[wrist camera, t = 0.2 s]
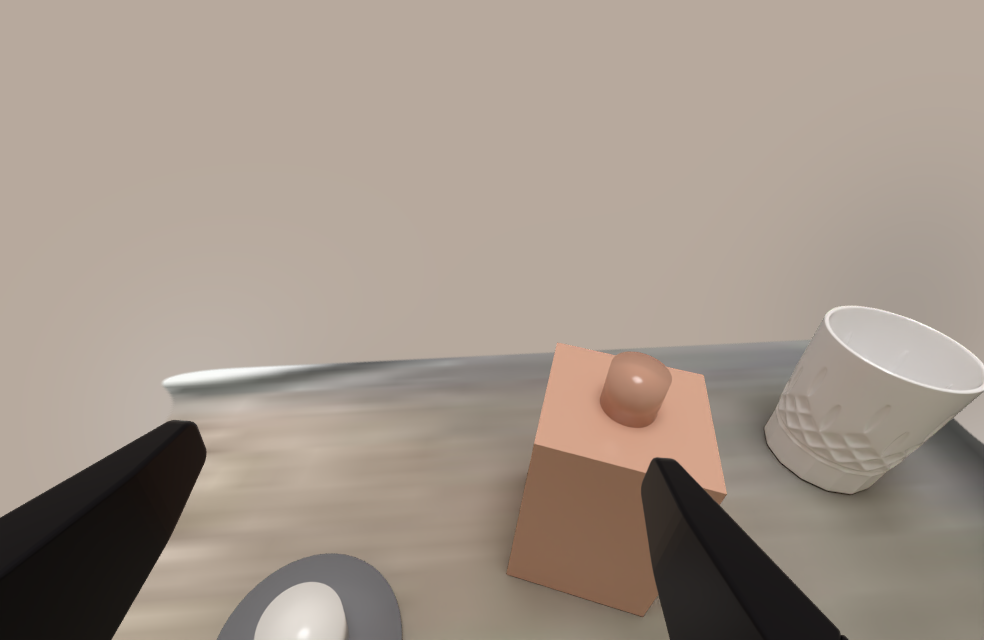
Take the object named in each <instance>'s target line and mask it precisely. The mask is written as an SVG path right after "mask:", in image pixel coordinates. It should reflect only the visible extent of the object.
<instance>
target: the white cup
mask: <svg viewBox="0 0 984 640" xmlns="http://www.w3.org/2000/svg"><path fill="white" fill-rule="evenodd" d="M983 392H984V364H983V363H982V362H981V361H980V360H979V359H978V358H977V357H976V356H975V355H974V354H973V353H972V352H970V351H969V350H968V349H967V348H965V347H964V346H962V345H961V344H959V343H958V342H956V341H955V340H953V339H951V338H950V337H948V336H946V335H944V334H943V333H941V332H939V331H937V330H935V329H933V328H931V327H929V326H927V325H924V324H922V323H920V322H917V321H915V320H912V319H910V318H907V317H904V316H901V315H898V314H895V313H892V312H888V311H884V310H880V309H875V308H869V307H863V306H840V307H836V308H833V309H831V310H829V311H828V312H827V313H826V315H825V317H824V318H823V320H822V322H821V324H820V325H819V327H818V329H817V331H816V333H815V334H814V336H813V338H812V340H811V341H810V343H809V345H808V347H807V348H806V350H805V352H804V353H803V355H802V357H801V359H800V360H799V362H798V364H797V365H796V367H795V369H794V371H793V374H792V376H791V378H790V379H789V380H788V382H787V384H786V386H785V388H784V391H783V393H782V394H781V395H780V400H779V403H778V405H777V407H776V409H775V411H774V412H773V414H772V416H771V417H770V419H769V421H768V422H767V424H766V426H765V428H764V430H765V435H766V440H767V444H768V446H769V447H770V449H771V450H772V451H773V453H774V454H775V456H776V457H777V458H778V460H779V461H780V462H781V463H782V464H783V465H785V466H786V467H787V468H788V469H790V470H791V471H792V472H794V473H795V474H796V475H797V476H799V477H800V478H801V479H803V480H805V481H807V482H810V483H812V484H814V485H816V486H818V487H820V488H823V489H825V490H827V491H833V492H840V493H846V494H853V493H856V492H859V491H862V490H865V489H868V488H869V487H870V486H871V485H873V484H874V483H875V482H876V481H877V480H878V479H879V478H880V477H881V476H883V475H884V474H885V473H886V472H887V471H888V470H890V469H892V468H893V467H895V466H896V465H898V464H899V463H900V462H902V461H903V460H904V459H905V458H906V457H907V456H908V455H909V454H910V453H912V452H913V451H915V450H916V449H917V448H919V447H920V446H921V445H922V444H924V443H925V442H926V441H927V440H928V439H930V438H931V437H932V436H933V435H934V434H935V433H936V432H938V431H939V430H940V429H941V428H942V427H943V426H944V425H946V424H947V423H948V422H949V421H950V420H951V419H952V418H954V417H955V416H956V415H957V414H958V413H959V412H961V411H962V410H963V409H964V408H965V407H966V406H967V405H968V404H970V403H971V402H972V401H973V400H974V399H975V398H977V397H978V396H979V395H980V394H981V393H983Z"/></svg>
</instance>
